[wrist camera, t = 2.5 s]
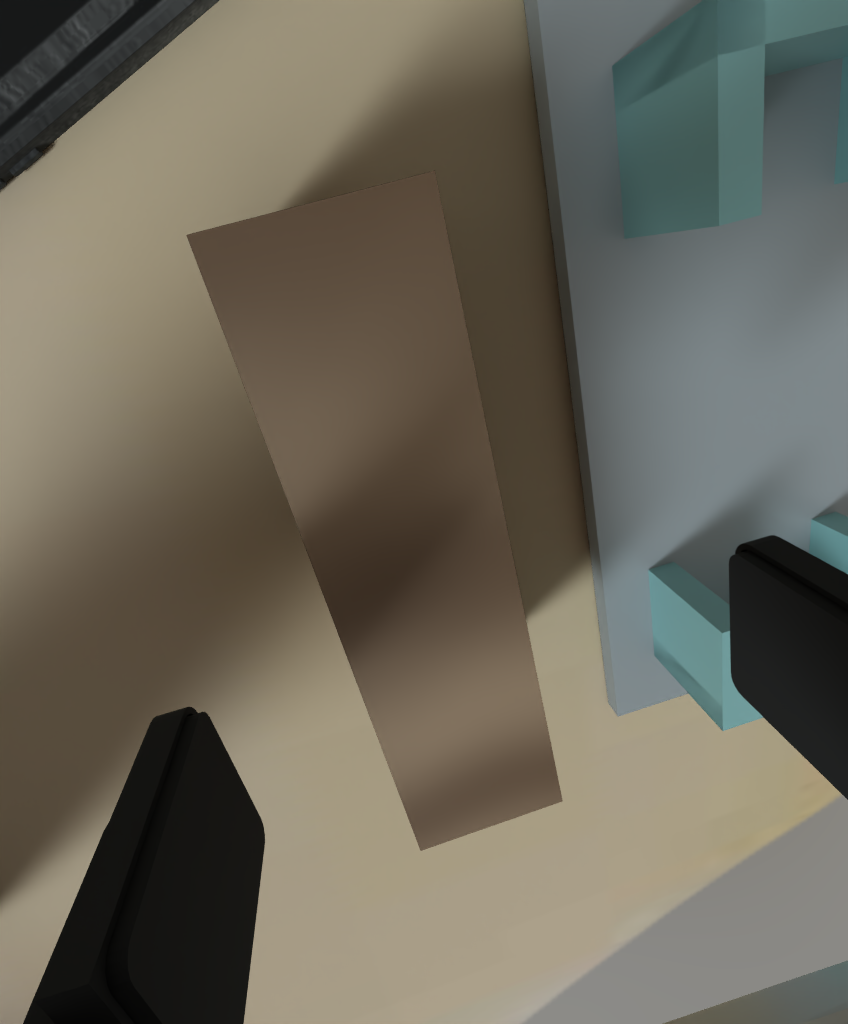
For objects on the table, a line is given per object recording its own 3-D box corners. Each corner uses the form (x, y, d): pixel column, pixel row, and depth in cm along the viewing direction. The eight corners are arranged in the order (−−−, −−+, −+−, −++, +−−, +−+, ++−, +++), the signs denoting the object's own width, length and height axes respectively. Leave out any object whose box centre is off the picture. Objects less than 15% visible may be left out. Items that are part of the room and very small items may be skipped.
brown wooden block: (240, 254, 15) (186, 234, 9) (383, 217, 15) (434, 170, 9) (388, 679, 21) (420, 850, 15) (488, 646, 21) (562, 801, 15)
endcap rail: (520, -32, 14) (617, -181, 9) (923, -120, 14) (1190, -296, 10) (608, 702, 23) (676, 799, 19) (844, 625, 24) (961, 701, 20)
